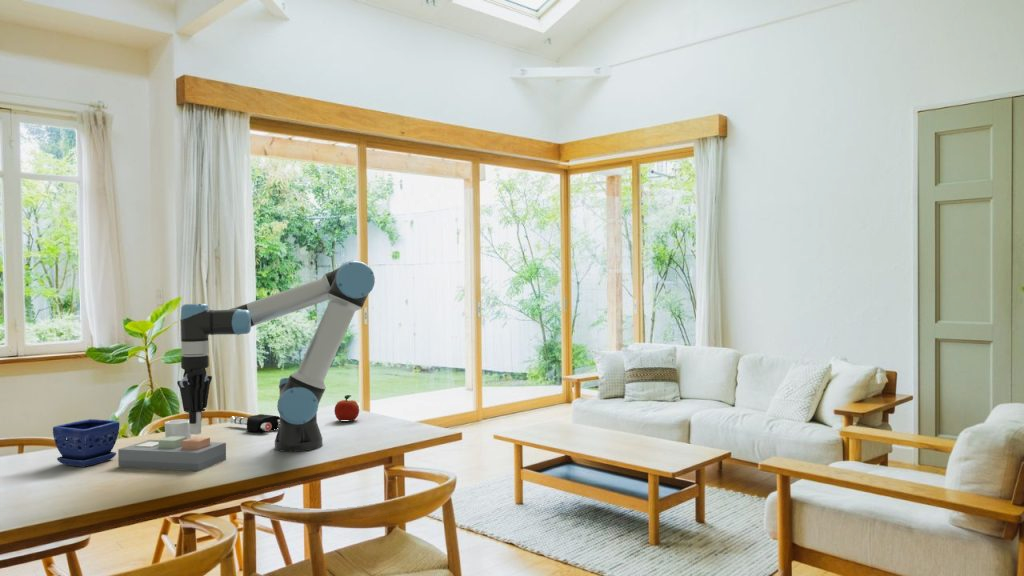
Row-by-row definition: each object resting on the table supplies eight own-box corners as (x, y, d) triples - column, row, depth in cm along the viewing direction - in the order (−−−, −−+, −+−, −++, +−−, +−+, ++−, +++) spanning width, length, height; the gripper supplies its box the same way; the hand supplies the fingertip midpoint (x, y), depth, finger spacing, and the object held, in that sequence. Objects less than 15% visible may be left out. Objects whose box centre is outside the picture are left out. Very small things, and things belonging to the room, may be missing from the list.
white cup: (181, 455, 218) (180, 424, 218) (159, 454, 219) (159, 423, 219) (197, 449, 225) (197, 419, 225) (176, 449, 227) (175, 418, 227)
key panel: (226, 459, 212) (225, 442, 212) (198, 470, 199) (198, 452, 199) (150, 456, 217) (149, 439, 217) (118, 466, 205) (118, 449, 205)
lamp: (263, 420, 247) (217, 414, 260) (263, 435, 247) (217, 428, 260) (286, 415, 257) (241, 410, 269) (287, 429, 257) (241, 423, 269)
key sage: (187, 448, 210) (186, 436, 210) (174, 452, 205) (174, 440, 205) (171, 447, 212) (171, 436, 212) (158, 451, 206) (158, 440, 206)
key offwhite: (164, 453, 212) (164, 442, 212) (151, 458, 207) (151, 446, 207) (148, 452, 213) (148, 441, 213) (135, 457, 208) (135, 445, 208)
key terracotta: (210, 449, 209) (210, 437, 209) (198, 453, 203) (198, 441, 203) (194, 448, 210) (194, 437, 210) (182, 452, 204) (181, 441, 204)
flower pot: (122, 458, 215) (121, 420, 215) (83, 469, 202) (82, 429, 202) (90, 455, 219) (90, 418, 219) (50, 466, 207) (50, 426, 207)
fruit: (330, 423, 267) (329, 397, 267) (340, 418, 276) (340, 393, 276) (353, 423, 265) (353, 397, 265) (363, 418, 275) (362, 393, 275)
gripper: (198, 352, 214) (198, 428, 214) (168, 357, 201) (169, 438, 201) (219, 353, 212) (220, 429, 212) (191, 357, 199) (192, 439, 199)
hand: (195, 433), depth 207 cm, fingers closed
